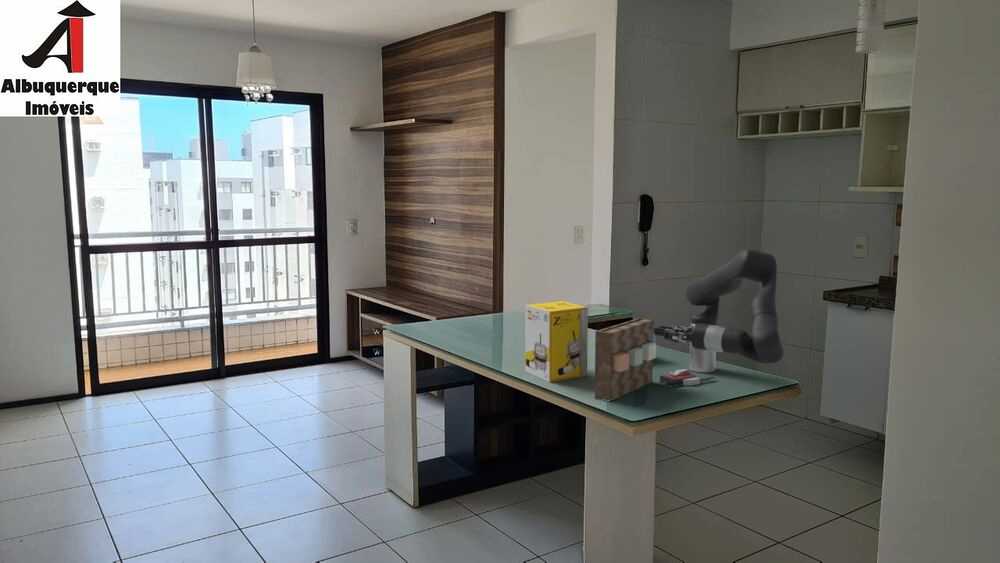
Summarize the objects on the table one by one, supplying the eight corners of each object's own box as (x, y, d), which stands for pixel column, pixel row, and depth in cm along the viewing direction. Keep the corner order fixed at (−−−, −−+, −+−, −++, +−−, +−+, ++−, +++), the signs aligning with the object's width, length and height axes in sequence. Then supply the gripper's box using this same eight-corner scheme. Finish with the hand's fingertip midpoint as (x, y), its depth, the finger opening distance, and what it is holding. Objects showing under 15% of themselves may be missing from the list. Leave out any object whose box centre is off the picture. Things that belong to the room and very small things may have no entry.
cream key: (644, 355, 245) (644, 341, 244) (655, 357, 242) (656, 343, 241) (636, 358, 241) (637, 344, 240) (648, 360, 238) (649, 346, 237)
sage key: (630, 361, 238) (631, 346, 237) (642, 363, 235) (643, 348, 234) (623, 364, 234) (623, 349, 233) (635, 366, 231) (635, 351, 230)
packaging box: (587, 375, 255) (587, 307, 252) (549, 382, 247) (549, 311, 244) (561, 365, 269) (561, 300, 266) (525, 371, 261) (524, 304, 258)
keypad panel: (638, 379, 250) (639, 317, 247) (652, 382, 247) (653, 319, 243) (594, 398, 229) (595, 331, 226) (609, 401, 225) (610, 333, 222)
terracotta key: (616, 366, 231) (617, 351, 230) (628, 368, 228) (629, 353, 227) (608, 369, 227) (608, 354, 227) (620, 372, 224) (621, 356, 224)
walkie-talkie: (672, 390, 238) (717, 382, 247) (672, 377, 237) (717, 369, 246) (655, 383, 246) (699, 376, 255) (655, 371, 245) (699, 364, 254)
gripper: (721, 321, 211) (668, 314, 222) (701, 329, 200) (646, 321, 211) (720, 346, 212) (667, 338, 223) (700, 355, 201) (645, 346, 212)
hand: (657, 330), depth 217 cm, fingers open, 3 cm apart
